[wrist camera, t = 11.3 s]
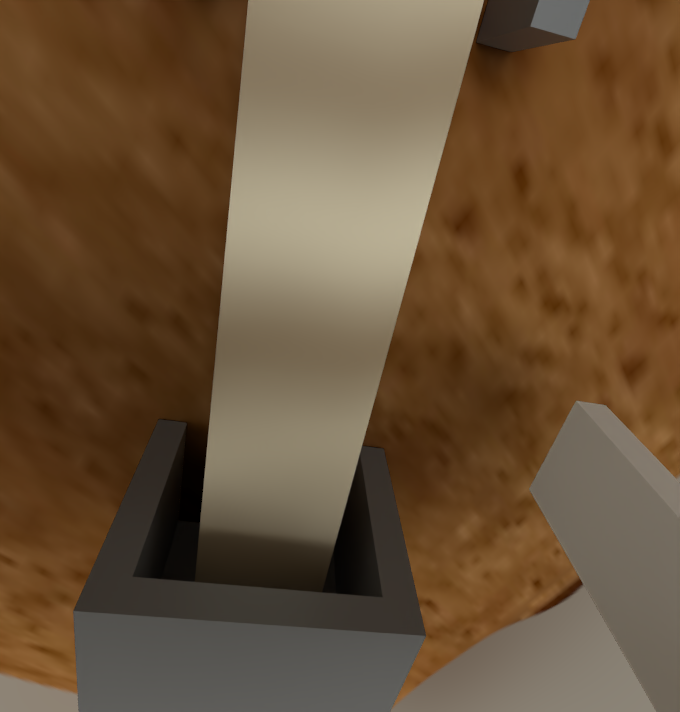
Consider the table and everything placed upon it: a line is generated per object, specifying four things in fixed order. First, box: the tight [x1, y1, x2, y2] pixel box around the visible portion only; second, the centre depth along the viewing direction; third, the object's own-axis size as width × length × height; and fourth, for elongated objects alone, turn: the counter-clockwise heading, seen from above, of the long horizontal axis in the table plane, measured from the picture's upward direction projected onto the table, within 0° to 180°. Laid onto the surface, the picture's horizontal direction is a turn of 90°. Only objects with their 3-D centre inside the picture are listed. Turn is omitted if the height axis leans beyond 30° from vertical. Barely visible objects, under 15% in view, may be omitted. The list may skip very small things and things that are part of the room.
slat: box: [195, 0, 484, 592], centre depth 14 cm, size 18×4×5 cm, turn 169°
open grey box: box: [73, 419, 426, 712], centre depth 16 cm, size 8×6×8 cm
